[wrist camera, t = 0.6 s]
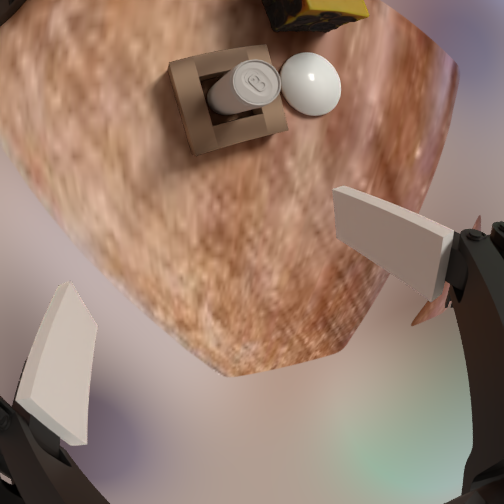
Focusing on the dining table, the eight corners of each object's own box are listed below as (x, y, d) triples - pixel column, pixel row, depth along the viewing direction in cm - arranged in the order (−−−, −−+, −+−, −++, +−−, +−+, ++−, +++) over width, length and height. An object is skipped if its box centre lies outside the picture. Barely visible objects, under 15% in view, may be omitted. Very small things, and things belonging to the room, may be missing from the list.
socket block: (167, 69, 27) (169, 62, 24) (256, 51, 29) (266, 44, 26) (192, 154, 32) (195, 156, 29) (277, 130, 35) (288, 130, 32)
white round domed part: (271, 55, 30) (273, 54, 29) (329, 52, 31) (332, 51, 31) (288, 120, 34) (290, 120, 34) (343, 111, 36) (346, 111, 36)
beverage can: (223, 74, 29) (255, 48, 19) (249, 97, 31) (292, 83, 21) (198, 100, 30) (219, 82, 19) (226, 123, 32) (259, 117, 22)
